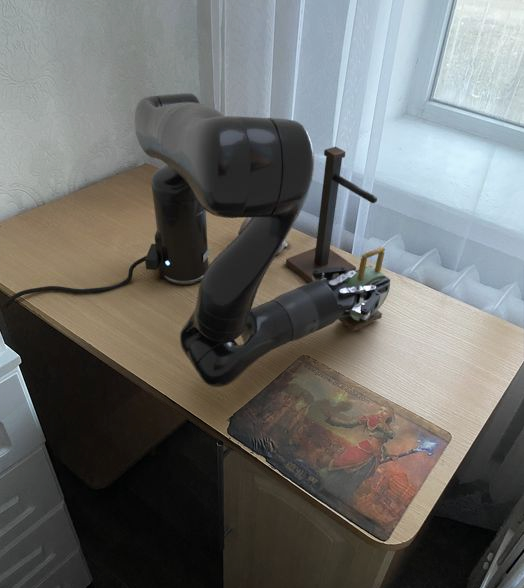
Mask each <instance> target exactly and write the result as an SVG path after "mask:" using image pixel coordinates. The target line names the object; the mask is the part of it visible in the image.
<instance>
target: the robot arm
mask: <svg viewBox="0 0 524 588" xmlns="http://www.w3.org/2000/svg"><path fill="white" fill-rule="evenodd" d="M133 125H134V131H135V135H136V139H137V141H138V143H139V145H140V148H141V149H142V150H143V152H144V153H145V154H146V155H147V156H148V157H150V158H153V159H157V160H159V161H161V162H163V163H164V164H166V165H164V166H163V167H161V168H159V169H157V171H155V172H154V173H153V175H152V177H151V180H150V181H151V191H152V192H151V193H152V199H153V208H154V216H155V224H156V231H155V233H154V243H150V246H149V249H148V251H147V253H146V255H145V256H143V257H141V258H139V259H137V260H135V261H134V262H133V263H132V264H131V265H130V267H129V269H128V275H127V277H126V278H125V279H124V280H123V281H121V282H119V283H117V284H115V285H111V286H104V287H91V288H74V287H73V288H72V287H67V286H60V285H59V286H58V285H47V286H41V287H40V286H39V287H33V288H28V289H24V290H21V291H18V292H16V293H14V294H13V295H11V296H10V297H9V298H8V299H7V300H6V301H5V302H4V303H3V305H2V307H1V308H3V309H6V308H8V307H9V306H10V305H11V303H12V302H13V301H15V300H17V299H18V298H20V297H22V296H25V295H29V294H34V293H39V292H47V291H59V292H67V293H72V294H90V293H103V292H109V291H113V290H116V289H119V288H121V287H124V286H126V285H127V284H128V283H130V282H131V280H132V278H133V273H134V270H135V268H136V267H137V266H139V265H141V264H143V263H145V269H146V270H150V271H158V276H159V279H160V280H161V279H162V280H165V281H166V282H169V283H170V284H174V285H179V286H180V285H181V286H187V285H188V286H190V285H194V284H197V283H199V286H198V292H197V297H196V303H195V308H194V311H193V312H192V314H191V315H190V317H189V319H188V320H187V321H186V323H185V324H184V326H183V327H182V328H181V330H180V333H179V343H180V347H181V349H182V352H183V353H184V355H185V356H186V358H187V359H188V360H189V363H190V364H191V365H192V367H193V368H194V370H195V371H196V373H197V374H198V375H199V377H200V379H201V380H202V382H204V383H205V384H206V386H209V387H213V388H223V387H226V386H229V385H231V384H232V383H234V382H235V381H236V380H238V379H239V378H240V377H241V376H242V375H243V374H244V373H246V371H247V370H248V369H249V368H250V367H251V366H253V365H254V364H255V363H256V362H258V360H260V359H261V358H263V357H264V356H266V354H268V353H269V352H271V351H274V350H276V349H278V348H280V347H283V346H284V345H286V344H288V343H291V342H294V341H298V340H300V339H303V338H305V337H308V336H309V335H311V334H314V333H315V332H318V331H320V330H322V329H324V328H326V327H328V326H331V325H332V324H334V323H336V321H338V318H340V317H342V316H349V315H351V314H352V315H354V316H357V317H359V322H361V323H366V322H367V320H368V319H369V318H370V316H371V315H372V314H373V313H374V311H375V310H376V309H377V307H378V305H379V301H380V296H381V294H382V293H384V292H387V291H388V289H389V285H390V286H391V279H390V278H389V277H387V276H386V278H383V279H381V280H379V281H377V282H374V283H372V285H368V286H364V287H362V286H361V285H359V286H355V287H350V286H348V284H347V283H348V281H349V280H350V278H351V277H352V276H353V275H354V274H355V273H357V272H358V271H359V269H356V271H353V270H352V271H347V270H346V267H333V268H323V269H315V270H313V274H312V282H310V283H308V282H307V283H305V284H303V285H301V286H298V287H296V288H293V289H291V290H289V291H286V292H284V293H282V294H280V295H278V296H277V297H274V298H272V299H271V300H270V301H267V302H264V303H262V304H260V305H257V306H255V307H253V304H254V301H255V299H256V298H255V297H256V295H257V292H258V290H259V287H260V285H261V283H262V281H263V279H264V277H265V275H266V273H267V272H268V270H269V268H270V266H271V265H272V264H273V261H274V260H275V258H276V256H277V255H278V254H277V253H278V251H279V250H280V248H281V246H282V244H283V243H284V241H286V239H287V237H288V235H289V233H290V232H291V230H292V228H293V226H294V225H295V223H296V221H297V219H298V218H299V216H300V214H301V211H302V210H303V208H304V205H305V204H306V200H307V198H308V197H309V196H308V195H309V193H310V190H311V186H312V182H313V176H314V171H315V154H314V153H315V152H314V147H313V143H312V139H311V137H310V134H309V132H308V130H307V128H306V127H305V126H304V125H303V124H302V123H301V122H299V121H298V120H292V119H288V118H279V117H260V116H259V117H258V116H234V115H224V114H223V113H222V112H220V111H219V110H217V109H216V108H214V107H212V106H210V105H208V104H203V103H201V102H200V99H199V97H198V96H197V95H195V94H194V93H192V92H183V93H182V92H181V93H169V94H168V93H167V94H156V95H149V96H145V97H142V98H141V99H140V100H139V101H138V102H137V104H136V106H135V110H134V113H133ZM207 212H208V213H209V214H211V215H212V216H215V217H219V218H223V219H238V218H239V219H240V218H241V219H242V218H244V219H246V218H247V217H252V218H251V220H250V221H249V223H248V224H247V226H246V227H245V228H244V229H243V231H242V232H241V233H240V234H239V235H238V234H237V236H236V237H235V238H234V239H233V240H232V241H231V242H230V243H229V244H228V245H227V246H226V247H225V248H224V249H223V250H221V252H220V253H219V254H218V255H217V256H216V257H215V258H214V259H213V260H212V261H211V263H210V264H209V256H210V248H208V229H207V227H208V225H207ZM366 267H367V266H366ZM366 267H365V268H366ZM369 267H372V265H370V266H369ZM337 273H339V275H338V276H335V277H333V274H337ZM389 290H390V289H389ZM365 293H367V295H365ZM364 302H366V303H365V304H364ZM358 306H359V307H358ZM239 337H240V338H241V340H242V343H241V344H238V342H237V341H236V339H238V338H239Z"/></svg>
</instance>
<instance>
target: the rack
mask: <svg viewBox="0 0 524 588" xmlns="http://www.w3.org/2000/svg"><path fill="white" fill-rule="evenodd" d="M323 151H324V152H323V156H324V157H325V165H324V172H323V173H324V174H323V183H322V189H321V190H322V191H321V200H320V208H319V216H318V217H319V218H318V225H317V233H316V244H315V247H314V248H310V249H308V250H306V251H303V252H301V253H298V254H296V255H293V256H290V257H288V258H286V259H285V266H286V267H288V268H289V269H290V270H291V271H293V272H294V273H295V274H297V275H298V276H299V277H301V278H302V279H303V280H304V281H305V282H307V284H308V283H310V282H312V274H313V270H315V269H323V268H333V267H346V270H347V271H352V270H353V271H357V267H356V266H355V265H354V264H352V263H351V262H350V261H348V260H346V259H345V258H344V257H343V256H341V255H339V254H338V253H337V252H335V251H334V250H333V249H331V245H332V244H331V243H332V236H333V228H334V221H335V213H336V207H337V199H338V192H339V185H340V186H342V187H344V188H345V189H347V190H349V191H351V192H352V193H354V194H356V195H358V196H359V197H361V198H363V199H364V200H365V201H368V202H369V203H370V204H376V203H377V202H378V197H377V196H376V195H374V194H373V193H371V192H369V191H367V190H365V189H364V188H362V187H360V186H358V185H357V184H355V183H353V182H351V181H349V180H348V179H346V178H344V177H343V176H341V170H342V162H343V158H345V157H346V151H345V150H343V149H341V148H339V147H337V146H333V147H329V148H326V149H324V150H323ZM338 275H339V273H337V274H333V277H335V276H338Z"/></svg>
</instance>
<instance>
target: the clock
mask: <svg viewBox="0 0 524 588" xmlns="http://www.w3.org/2000/svg"><path fill="white" fill-rule="evenodd" d="M385 250H386V248H385V247H384V246H380V247H378V248H376V249H373V250H371V251H368V252H366V253H363V254H362V255H361V258H360V262H359V267H358V268H359V269H358V270H359V271H358V272H357V273H355V274H354V275H353V276H352V277H351V278H350V280H349V281H348V283H347V284H348V286H350V287H355V286H359V285H361V286H362V287H364V286H368V285H372V283H374V282H377V281H379V280H381V279H383V278H386V277H387V276H386V275H385V274H384V273H382V272H381V270H382V266H383V263H384V262H383V261H384V257H385ZM374 256H377V258H376V262H375V267H374V266H371V267H370V266H367V261H368V258H369V259H370V258H372V257H374ZM365 267H366V268H365ZM390 287H391V284H390V285H389V289H388V291H387V292H384V293H382V294H381V296H380V301H379V305H378V307H377V309H376V310H375V311H374V313H373V314H372V315H371V316H370V318H369V319H368V320H367V322H366V323H361V322H359V317H357V316H354V315H352V314H351V315H349V316H342V317H340V318H338V319H337V321H339V322H341V323H342V324H343V325H344V326H346V327H347V328H348V329H349V330H350V331H351V332H355V331H357V330H359V329H361V328H363V327H365V326H367V325H369V324H371V323H373V322H376V321H377V320H379V319H382V316H383V313H382V312H381V311H379V309H380V308H381V307H382V306H383V304H384V302H385V301H386V300H387V297H388V295H389V292H390ZM365 295H367V293H365ZM365 303H366V302H364V304H365ZM358 307H359V306H358Z"/></svg>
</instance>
